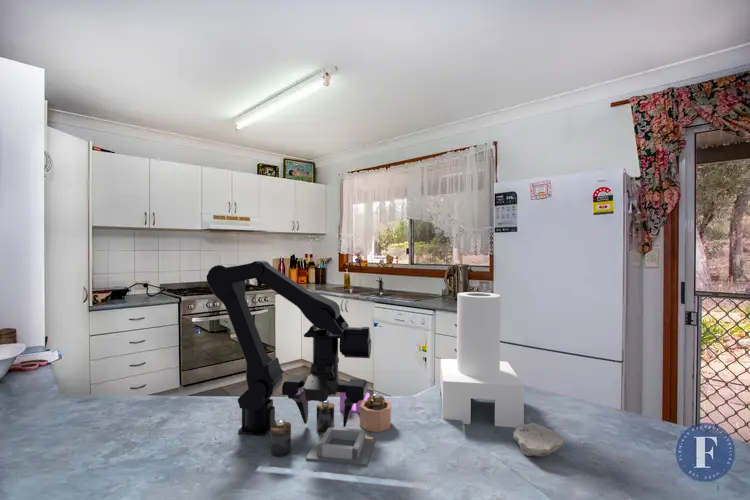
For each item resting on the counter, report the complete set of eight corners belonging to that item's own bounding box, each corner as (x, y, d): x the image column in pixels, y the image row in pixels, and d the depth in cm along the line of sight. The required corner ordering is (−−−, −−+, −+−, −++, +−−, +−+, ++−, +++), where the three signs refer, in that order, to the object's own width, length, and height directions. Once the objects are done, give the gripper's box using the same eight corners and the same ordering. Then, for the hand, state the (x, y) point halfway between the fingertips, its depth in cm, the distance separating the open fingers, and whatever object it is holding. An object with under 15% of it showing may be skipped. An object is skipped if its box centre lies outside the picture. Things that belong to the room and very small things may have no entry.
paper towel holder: (440, 392, 111) (441, 289, 110) (507, 396, 108) (508, 291, 108) (442, 422, 92) (443, 298, 92) (523, 428, 89) (525, 300, 89)
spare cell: (267, 460, 75) (267, 424, 75) (275, 449, 79) (275, 415, 79) (286, 462, 74) (286, 426, 74) (293, 451, 78) (294, 417, 78)
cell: (314, 435, 85) (314, 404, 85) (319, 427, 89) (319, 397, 89) (331, 437, 84) (331, 405, 84) (336, 428, 88) (336, 398, 88)
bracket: (361, 416, 95) (361, 389, 95) (339, 414, 96) (340, 387, 96) (371, 396, 108) (371, 372, 108) (352, 395, 109) (352, 370, 109)
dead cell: (365, 427, 87) (365, 397, 87) (368, 419, 91) (369, 390, 91) (382, 429, 86) (383, 398, 86) (385, 421, 90) (385, 391, 90)
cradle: (305, 464, 74) (305, 447, 74) (321, 438, 84) (321, 423, 84) (366, 470, 72) (366, 453, 72) (375, 443, 82) (375, 428, 82)
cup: (357, 433, 86) (358, 409, 86) (363, 419, 93) (363, 397, 93) (388, 436, 85) (388, 412, 85) (392, 422, 92) (392, 399, 92)
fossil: (531, 453, 73) (507, 412, 82) (526, 476, 76) (504, 434, 85) (573, 446, 74) (545, 407, 83) (567, 469, 77) (540, 429, 86)
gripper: (271, 364, 80) (271, 438, 80) (358, 370, 77) (358, 446, 77) (291, 350, 91) (291, 415, 91) (368, 354, 88) (367, 421, 88)
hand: (325, 424), depth 87 cm, fingers open, 9 cm apart
